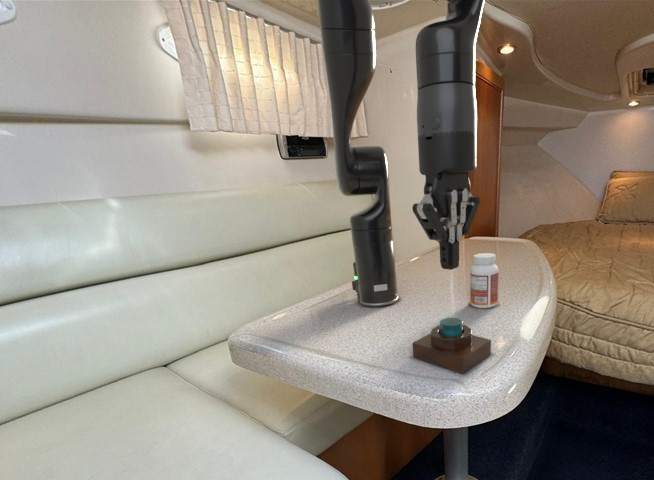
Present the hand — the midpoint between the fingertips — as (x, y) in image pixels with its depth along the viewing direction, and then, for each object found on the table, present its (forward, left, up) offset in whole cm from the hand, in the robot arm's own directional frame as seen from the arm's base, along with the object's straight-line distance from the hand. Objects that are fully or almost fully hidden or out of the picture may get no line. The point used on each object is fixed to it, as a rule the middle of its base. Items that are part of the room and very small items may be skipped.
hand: (449, 268), depth 54 cm
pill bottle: (-10, +26, -15) cm, 31 cm away
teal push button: (0, 0, -10) cm, 11 cm away
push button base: (0, 0, -15) cm, 15 cm away
